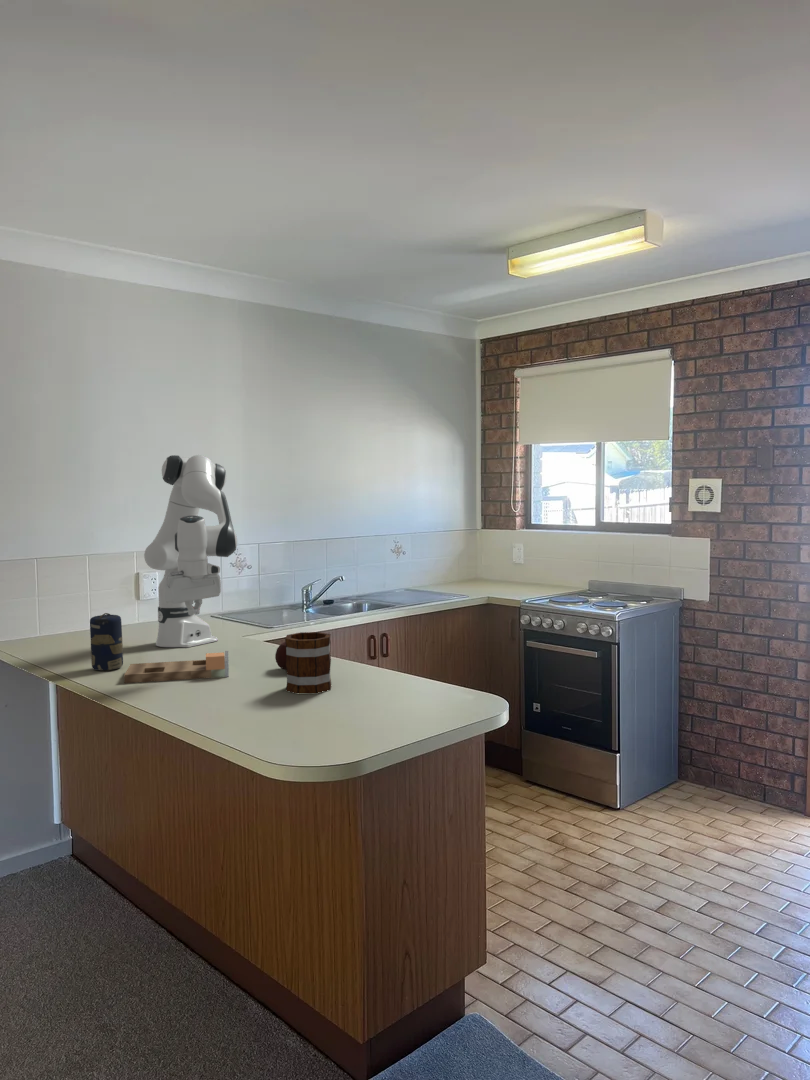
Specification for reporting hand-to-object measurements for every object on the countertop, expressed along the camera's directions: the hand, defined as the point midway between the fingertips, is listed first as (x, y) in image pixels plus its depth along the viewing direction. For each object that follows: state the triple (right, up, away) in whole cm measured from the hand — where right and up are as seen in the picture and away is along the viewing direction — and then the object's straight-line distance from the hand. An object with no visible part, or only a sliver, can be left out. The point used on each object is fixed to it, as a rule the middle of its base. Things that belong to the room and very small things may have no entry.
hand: (194, 614), depth 240 cm
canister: (-31, -19, +13) cm, 38 cm away
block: (+6, -16, +1) cm, 17 cm away
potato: (+28, -18, +8) cm, 35 cm away
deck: (-6, -19, +4) cm, 20 cm away
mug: (+38, -20, -12) cm, 44 cm away
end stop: (+8, -18, +7) cm, 21 cm away
